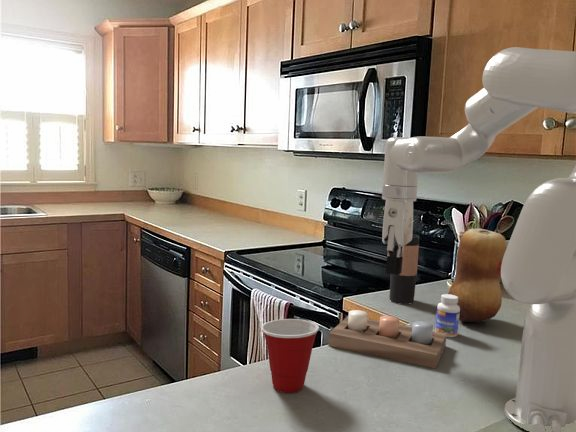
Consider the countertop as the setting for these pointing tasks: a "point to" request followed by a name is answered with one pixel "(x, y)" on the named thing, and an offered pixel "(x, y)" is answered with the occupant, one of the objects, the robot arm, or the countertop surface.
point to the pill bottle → (448, 315)
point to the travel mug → (406, 274)
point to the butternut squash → (479, 275)
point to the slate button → (422, 333)
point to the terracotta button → (389, 326)
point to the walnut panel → (389, 344)
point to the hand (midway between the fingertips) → (393, 273)
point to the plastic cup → (289, 351)
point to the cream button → (357, 321)
